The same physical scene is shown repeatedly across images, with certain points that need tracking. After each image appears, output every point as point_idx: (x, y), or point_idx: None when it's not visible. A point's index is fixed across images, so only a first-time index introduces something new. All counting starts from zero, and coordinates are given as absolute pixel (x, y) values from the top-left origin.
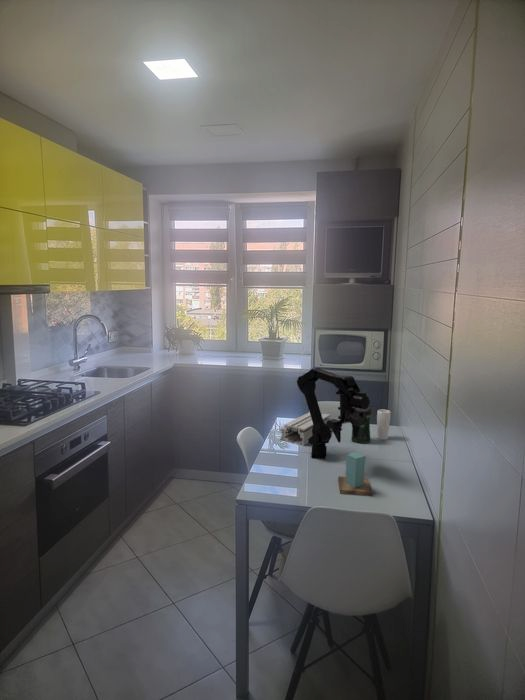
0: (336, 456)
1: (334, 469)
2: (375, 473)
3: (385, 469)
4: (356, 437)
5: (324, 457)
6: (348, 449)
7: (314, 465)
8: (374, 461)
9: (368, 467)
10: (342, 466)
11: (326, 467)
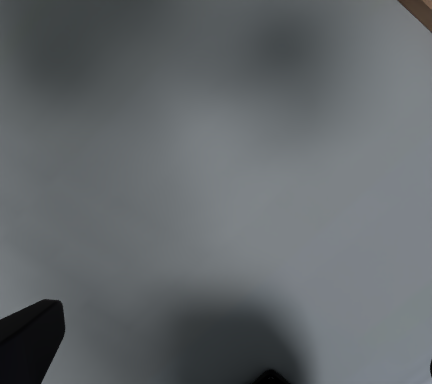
0: (174, 353)
1: (345, 222)
2: (134, 7)
3: (20, 22)
4: (38, 303)
5: (267, 380)
6: None
7: (412, 340)
8: (3, 166)
9: (106, 115)
10: (256, 226)
11: (367, 275)
